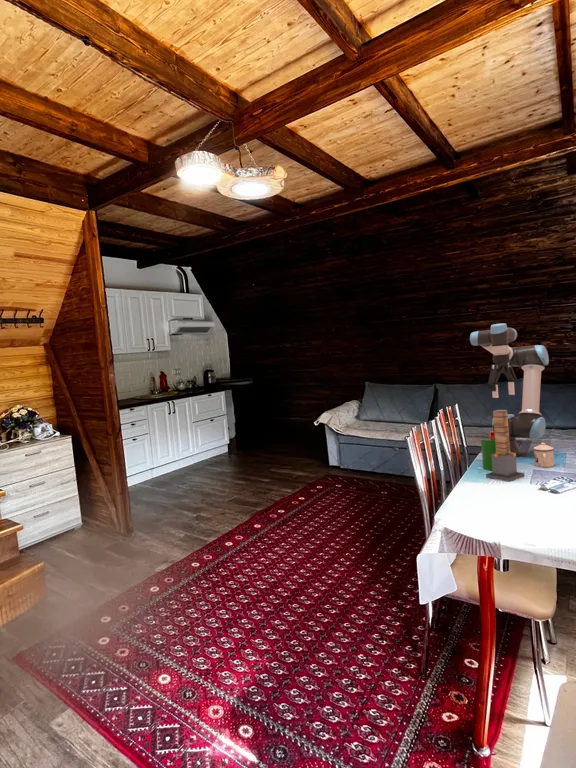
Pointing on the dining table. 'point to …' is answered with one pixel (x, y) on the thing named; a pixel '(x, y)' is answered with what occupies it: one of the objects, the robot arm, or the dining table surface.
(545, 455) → the teacup with lid
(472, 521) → the dining table surface
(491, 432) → the motor
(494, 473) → the stand base
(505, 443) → the column
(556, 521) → the dining table surface
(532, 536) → the dining table surface
